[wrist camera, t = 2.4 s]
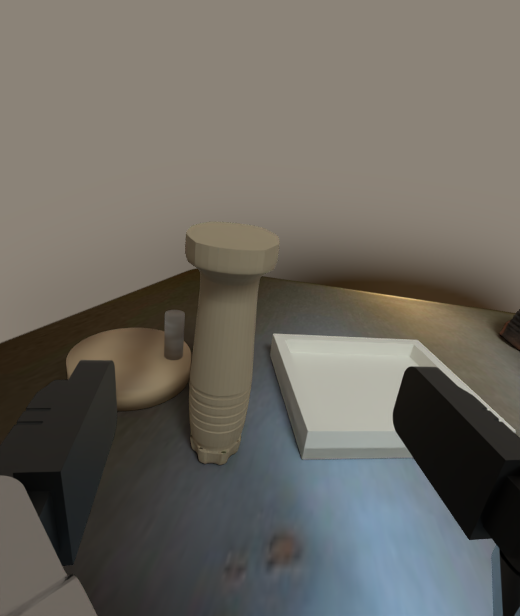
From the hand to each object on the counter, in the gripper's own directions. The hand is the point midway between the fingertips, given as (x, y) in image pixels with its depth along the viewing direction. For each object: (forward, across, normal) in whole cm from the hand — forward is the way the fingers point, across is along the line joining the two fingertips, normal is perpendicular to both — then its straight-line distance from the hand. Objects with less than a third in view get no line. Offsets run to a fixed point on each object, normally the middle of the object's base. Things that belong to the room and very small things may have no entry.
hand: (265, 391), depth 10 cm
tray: (+18, -14, +13) cm, 26 cm away
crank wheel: (+21, +7, +13) cm, 25 cm away
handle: (+12, 0, +13) cm, 18 cm away
